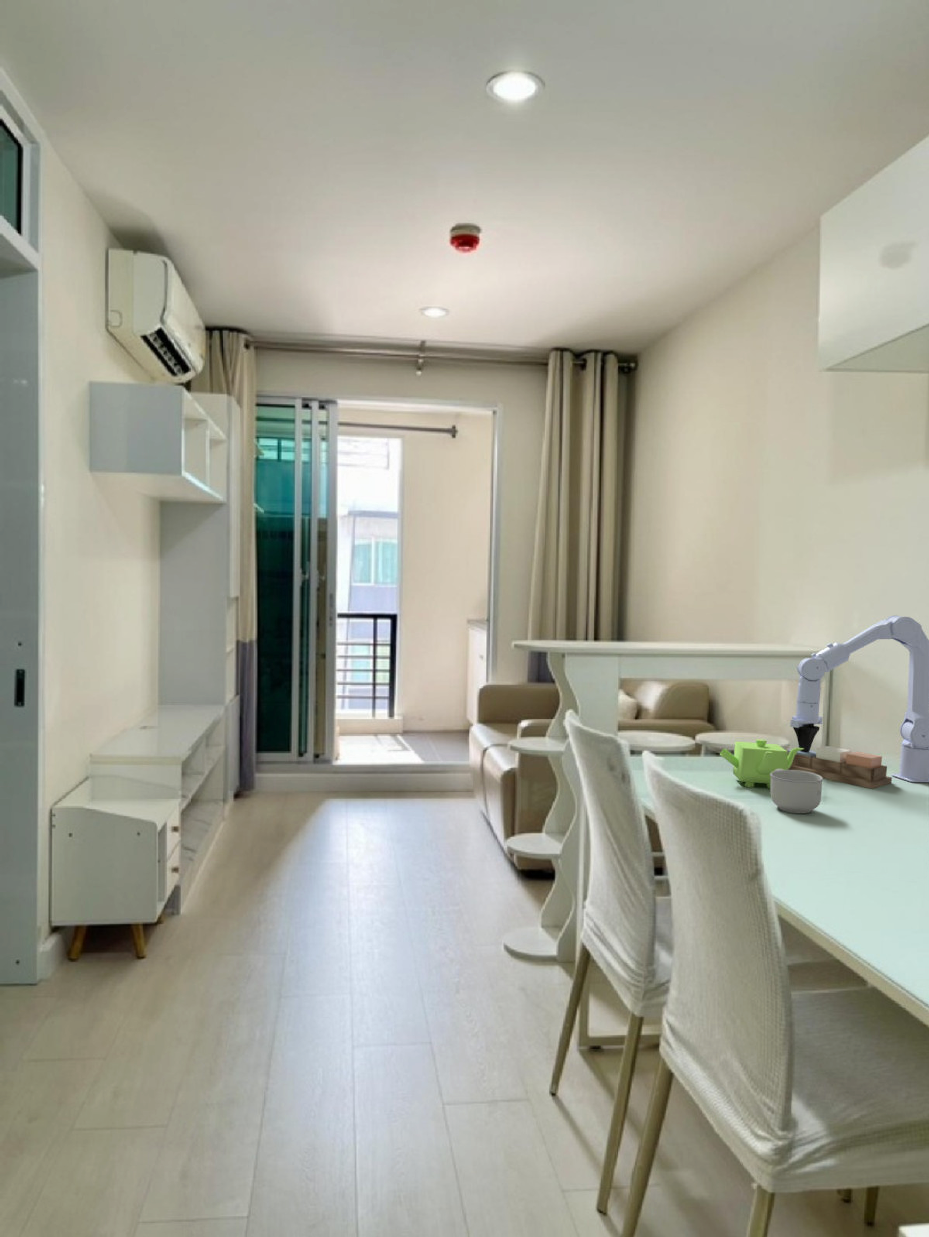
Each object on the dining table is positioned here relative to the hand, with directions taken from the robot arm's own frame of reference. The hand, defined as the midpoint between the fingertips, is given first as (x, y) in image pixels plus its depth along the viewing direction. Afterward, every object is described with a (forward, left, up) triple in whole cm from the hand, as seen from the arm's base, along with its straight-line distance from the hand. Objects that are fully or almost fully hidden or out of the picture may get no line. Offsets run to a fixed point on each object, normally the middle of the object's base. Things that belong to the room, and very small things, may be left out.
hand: (804, 751), depth 239 cm
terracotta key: (-8, +14, -1) cm, 16 cm away
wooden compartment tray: (-4, +7, -5) cm, 9 cm away
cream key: (-4, +7, -1) cm, 8 cm away
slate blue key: (0, 0, -3) cm, 3 cm away
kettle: (+24, +18, -5) cm, 30 cm away
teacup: (+29, +39, -5) cm, 49 cm away
